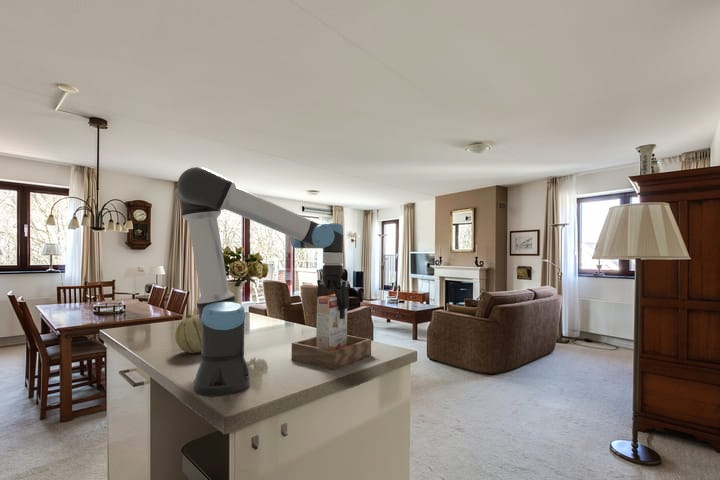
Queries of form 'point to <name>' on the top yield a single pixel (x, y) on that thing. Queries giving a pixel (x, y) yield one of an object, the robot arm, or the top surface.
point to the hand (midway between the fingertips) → (332, 326)
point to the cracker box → (330, 324)
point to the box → (331, 352)
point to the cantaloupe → (189, 334)
